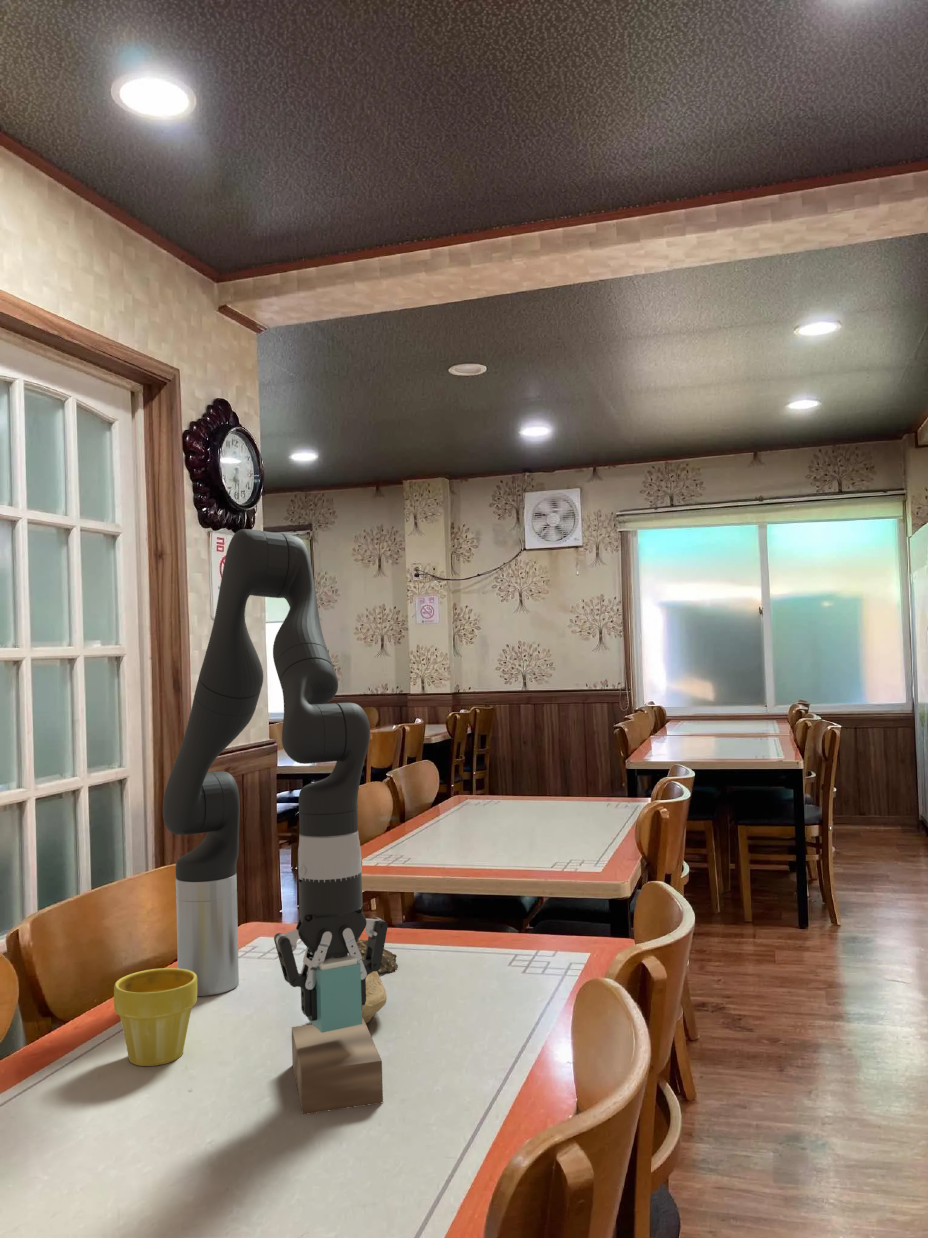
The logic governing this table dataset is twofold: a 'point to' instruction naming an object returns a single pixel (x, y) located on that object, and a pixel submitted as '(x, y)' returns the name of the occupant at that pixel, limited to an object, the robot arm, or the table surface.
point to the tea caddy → (338, 994)
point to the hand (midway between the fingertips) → (334, 1013)
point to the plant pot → (155, 1013)
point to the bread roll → (387, 957)
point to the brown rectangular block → (336, 1068)
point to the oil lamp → (373, 996)
